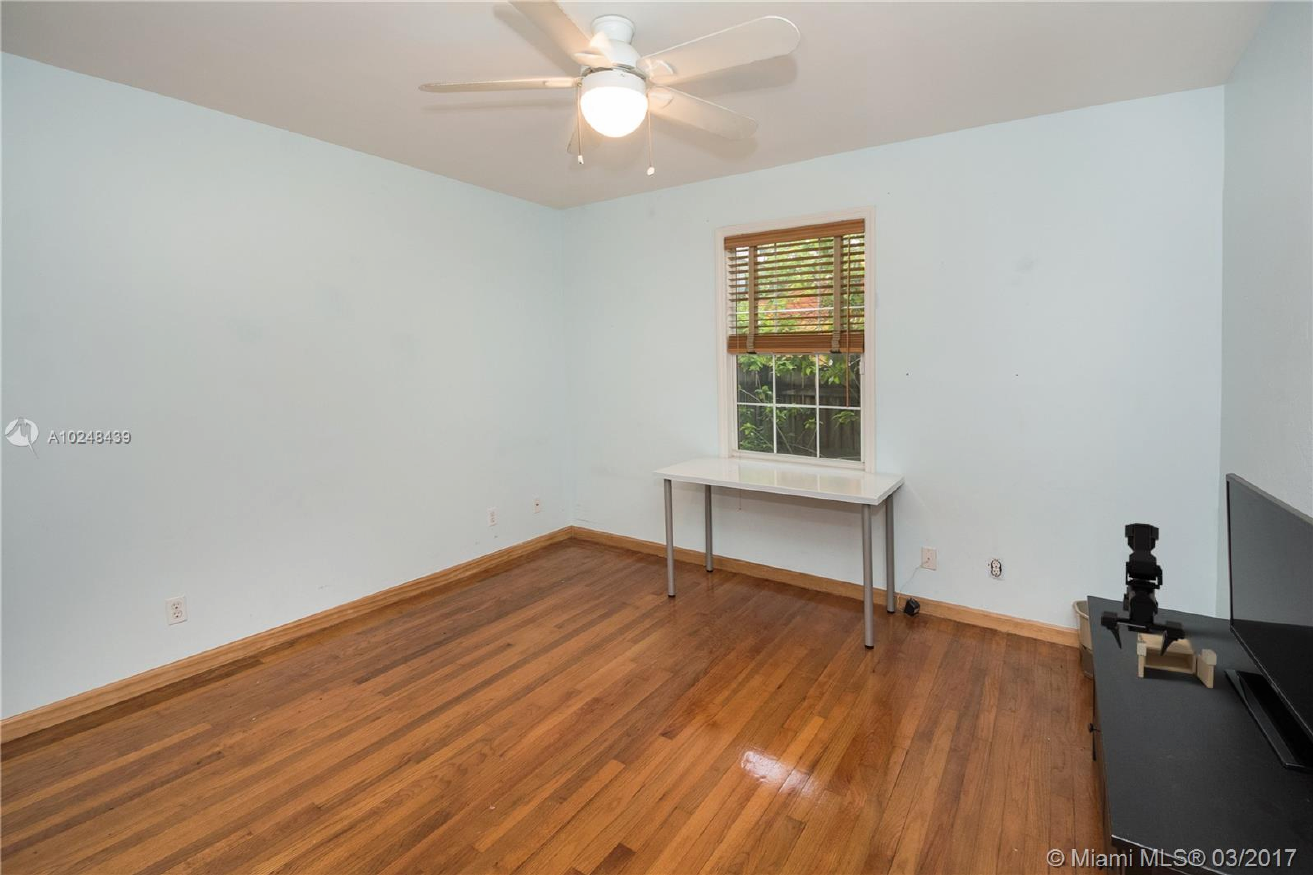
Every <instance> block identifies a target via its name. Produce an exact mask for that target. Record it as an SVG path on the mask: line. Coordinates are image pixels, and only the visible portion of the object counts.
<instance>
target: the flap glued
mask: <svg viewBox="0 0 1313 875" xmlns="http://www.w3.org/2000/svg"><path fill="white" fill-rule="evenodd" d="M1136 654H1137V655H1138V654H1139V655H1138V677H1139V678H1144V669H1145V668H1144V655H1145V656H1146V641H1140V640H1138V639H1137V640H1136Z"/></svg>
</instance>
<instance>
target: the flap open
mask: <svg viewBox="0 0 1313 875" xmlns="http://www.w3.org/2000/svg"><path fill="white" fill-rule="evenodd" d="M1196 666H1197V667H1196V668H1197V669H1196V670H1197V671H1196V676H1197V677H1198V678H1199V680H1201V682H1202V683H1203V684H1204V685H1205V686H1206V687H1207V688H1208V689H1213V688H1214V687H1213V686H1214V668H1215V666H1217V654H1216V652H1214V651H1213V650H1212V649H1208V648H1207V649H1206V648H1202V649H1201V654H1199V653H1198V654H1197V664H1196Z"/></svg>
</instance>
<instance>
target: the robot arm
mask: <svg viewBox="0 0 1313 875" xmlns="http://www.w3.org/2000/svg"><path fill="white" fill-rule="evenodd" d="M1124 538H1126V539H1127V544H1126V545H1127V546H1128V548H1130V550H1132V553H1129V555H1128V561H1125V586H1126V593H1123V599H1122V611H1123V612H1127V618H1125V617H1120V616H1118V612H1114V611H1110V610H1109V611H1107V610H1103V611H1102V612H1101V614H1100V626H1102V627H1103V628H1104V627H1105V629H1106V630H1109V631H1110V632H1111V633H1112V635H1113V636H1114V638H1115V641H1116V643H1117V645H1118V648H1119V649H1120V650H1123V649H1122V648H1123V647H1122V644H1123V643H1122V637H1121V636H1122V635H1121V628H1120V625H1122V626H1123V625H1124V626H1126V628H1128V629H1127V631H1130V632H1138V633H1145V634H1153V633H1154V632H1153V630H1154V631H1159V632H1162V633H1163V634H1162V636H1163V639H1162V644H1161V649H1160V656H1161V657H1162V656H1163V654H1164V653H1165V651H1166V650H1167V648H1168V647H1169V645H1170V644H1171V643H1172V642H1173V641H1178V639H1181V640H1183V639H1186V638H1185V637H1186V636H1185V634H1186V632H1185V626H1184V624H1183V623H1182V622H1179V621H1173V620H1165V622H1164V623H1159V622H1155V617H1156V615H1158V614H1159V602H1158V601H1157V597H1156V590H1159V591H1160V590H1161V586H1163V584H1164V580H1163V579H1164V578H1163V577H1164V576H1163V574H1164V573H1163V568H1162V567H1161V565H1160V564H1158V562H1157V561H1158V560H1157V556H1155V555H1154V554H1152V551H1153V550H1154V549H1155V548H1156V544H1157V543H1156V541H1157V542H1158V541H1159V540H1160V527H1158V526H1155V525H1153V524H1150V523H1140V522H1134V523H1129V524H1124ZM1128 579H1129V580H1128Z"/></svg>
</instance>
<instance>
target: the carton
mask: <svg viewBox="0 0 1313 875" xmlns="http://www.w3.org/2000/svg"><path fill="white" fill-rule="evenodd" d="M1162 639H1163V635H1160V634H1159V635H1158V634H1153V633H1145V632H1138V633H1137V640H1140V641H1146V656H1145V655H1144V667H1145V668H1151V669H1157V670H1164V671H1169V672H1170V671H1171V672H1177V673H1178V672H1179V673H1184V674H1191V675H1196V673H1197V671H1196V670H1197V669H1196V668H1197V667H1196V666H1197V664H1196V663H1197V652H1196V650H1195V648H1194V647H1193V645H1192V642H1191V641H1190V640H1189V638H1185V639H1183V640H1181V639H1178V641H1173V642H1172V643H1171V644H1170V645H1169V647H1168V648H1167V650H1166V651H1165V653H1164V654H1163V656H1162V657H1161V656H1160V649H1161V644H1162ZM1137 655H1138V656H1139V654H1137Z"/></svg>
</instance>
